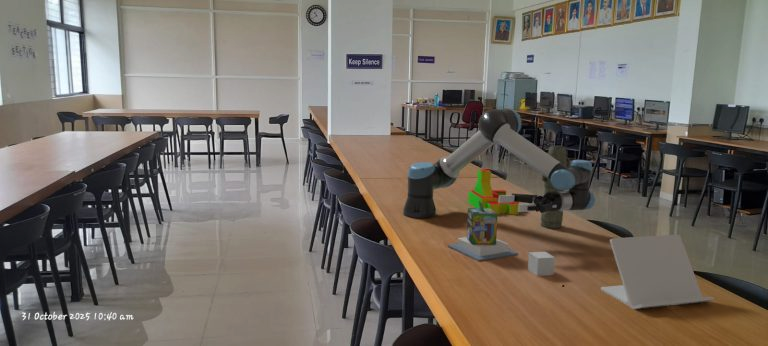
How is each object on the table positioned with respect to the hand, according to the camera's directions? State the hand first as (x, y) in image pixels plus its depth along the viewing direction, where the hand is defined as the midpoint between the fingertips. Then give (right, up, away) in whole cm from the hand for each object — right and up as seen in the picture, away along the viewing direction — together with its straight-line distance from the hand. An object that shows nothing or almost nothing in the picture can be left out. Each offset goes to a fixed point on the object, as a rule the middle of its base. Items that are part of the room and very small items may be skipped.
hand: (508, 203), depth 202 cm
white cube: (+5, -22, -23) cm, 32 cm away
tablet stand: (+34, -26, -41) cm, 59 cm away
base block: (-10, -17, -2) cm, 20 cm away
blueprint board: (-10, -17, -2) cm, 20 cm away
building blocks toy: (+8, -6, +65) cm, 66 cm away
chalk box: (-11, -14, -3) cm, 18 cm away
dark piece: (+26, -12, +34) cm, 45 cm away
